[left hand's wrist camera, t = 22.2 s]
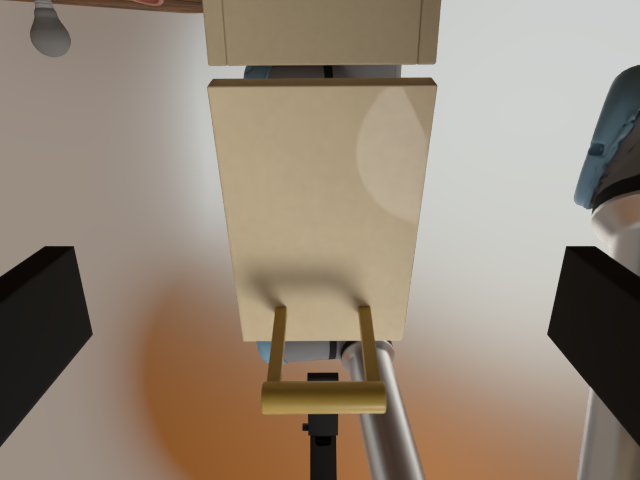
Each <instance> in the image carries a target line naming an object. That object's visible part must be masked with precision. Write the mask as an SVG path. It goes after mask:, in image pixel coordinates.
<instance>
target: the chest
mask: <svg viewBox="0 0 640 480" xmlns="http://www.w3.org/2000/svg"><path fill="white" fill-rule="evenodd" d="M202 1H203V12H204V23H205V33H206V45H207V56H208V64H209V65H210V66H227V65H229V66H252V65H415V64H435V63H436V55H437V43H438V31H439V20H440V7H441V0H202Z"/></svg>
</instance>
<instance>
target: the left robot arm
mask: <svg viewBox="0 0 640 480" xmlns="http://www.w3.org/2000/svg"><path fill="white" fill-rule="evenodd" d="M574 201H575V203H576V204H578V205H581V206H583V207H584V208H586V209H591V208H593V210H592V216H591V228H592V231H593V232H594V234H595V235H596V236H597V237H598V238H599V239H600V240H601V241H602V242H603V243H604V244H606V245H607V246H608V247H609V255H607V254H605V253H604V252H603V251H601V250H600V249H598V248H597V247H595V246H566V250H565V255H564V259H563V264H562V269H561V273H560V278H559V282H558V287H557V292H556V296H555V301H554V305H553V310H552V315H551V319H550V324H549V329H548V333H547V335H548V336H549V337H550V338H551V340H552V341H553V342H554V343H555V345H556V346H557V347H558V348H559V349H560V351H561V352H562V353H563V354H564V355H565V357H566V358H567V359H568V360H569V362H570V363H571V364H572V365H573V366H574V368H575V369H576V370H577V371H578V373H579V374H580V375H581V376H582V377H583V379H584V380H585V381H586V382H587V383H588V385H589V386H590V388H589V395H588V402H587V409H586V416H585V423H584V430H583V436H582V443H581V450H580V457H579V464H578V471H577V478H576V480H640V65H637V66H634V67H631V68H629V69H627V70H625V71H623V72H622V73H621V74H619V75H618V76H617V77H616V78H615V80H614V81H613V83H612V85H611V87H610V89H609V92H608V94H607V97H606V100H605V102H604V105H603V108H602V111H601V114H600V117H599V120H598V123H597V125H596V128H595V131H594V135H593V138H592V141H591V145H590V148H589V150H588V153H587V156H586V159H585V162H584V165H583V168H582V171H581V174H580V177H579V180H578V184H577V187H576V191H575V194H574ZM92 335H93V333H92V329H91V324H90V319H89V315H88V310H87V305H86V301H85V296H84V292H83V287H82V282H81V278H80V273H79V268H78V264H77V259H76V255H75V250H74V246H45V247H43V248H42V249H40V250H39V251H37V252H36V253H34V254H33V255H32V256H30V257H29V258H27V259H26V260H24V261H23V262H21V263H20V264H18V265H17V266H15V267H14V268H13V269H11V270H10V271H8V272H7V273H5V274H4V275H2V276H1V277H0V447H1V445H2V444H3V443H4V442H5V441H6V439H7V438H8V437H9V436H10V435H11V433H12V432H13V431H14V430H15V428H16V427H17V426H18V425H19V424H20V422H21V421H22V420H23V419H24V418H25V416H26V415H27V414H28V413H29V411H30V410H31V409H32V408H33V407H34V405H35V404H36V403H37V402H38V400H39V399H40V398H41V397H42V396H43V394H44V393H45V392H46V391H47V389H48V388H49V387H50V386H51V385H52V383H53V382H54V381H55V380H56V379H57V377H58V376H59V375H60V374H61V372H62V371H63V370H64V369H65V368H66V366H67V365H68V364H69V363H70V362H71V360H72V359H73V358H74V357H75V355H76V354H77V353H78V352H79V351H80V349H81V348H82V347H83V346H84V345H85V343H86V342H87V341H88V340H89V338H90V337H91V336H92Z"/></svg>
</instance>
